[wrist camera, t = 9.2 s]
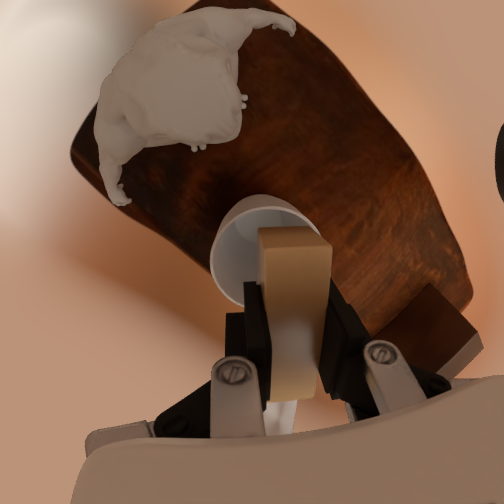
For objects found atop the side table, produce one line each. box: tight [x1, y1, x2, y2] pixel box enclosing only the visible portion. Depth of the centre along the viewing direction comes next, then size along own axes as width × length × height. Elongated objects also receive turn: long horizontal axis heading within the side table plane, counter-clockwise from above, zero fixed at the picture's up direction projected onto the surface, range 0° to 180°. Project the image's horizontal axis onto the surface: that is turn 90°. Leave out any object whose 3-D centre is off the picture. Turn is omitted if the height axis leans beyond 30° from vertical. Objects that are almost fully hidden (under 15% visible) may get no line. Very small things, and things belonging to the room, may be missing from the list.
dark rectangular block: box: [372, 283, 484, 380], centre depth 30 cm, size 13×6×12 cm, turn 139°
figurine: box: [94, 7, 296, 206], centre depth 15 cm, size 18×7×18 cm, turn 136°
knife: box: [257, 226, 332, 436], centre depth 12 cm, size 16×2×3 cm, turn 1°
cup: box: [210, 194, 321, 307], centre depth 23 cm, size 8×8×10 cm
